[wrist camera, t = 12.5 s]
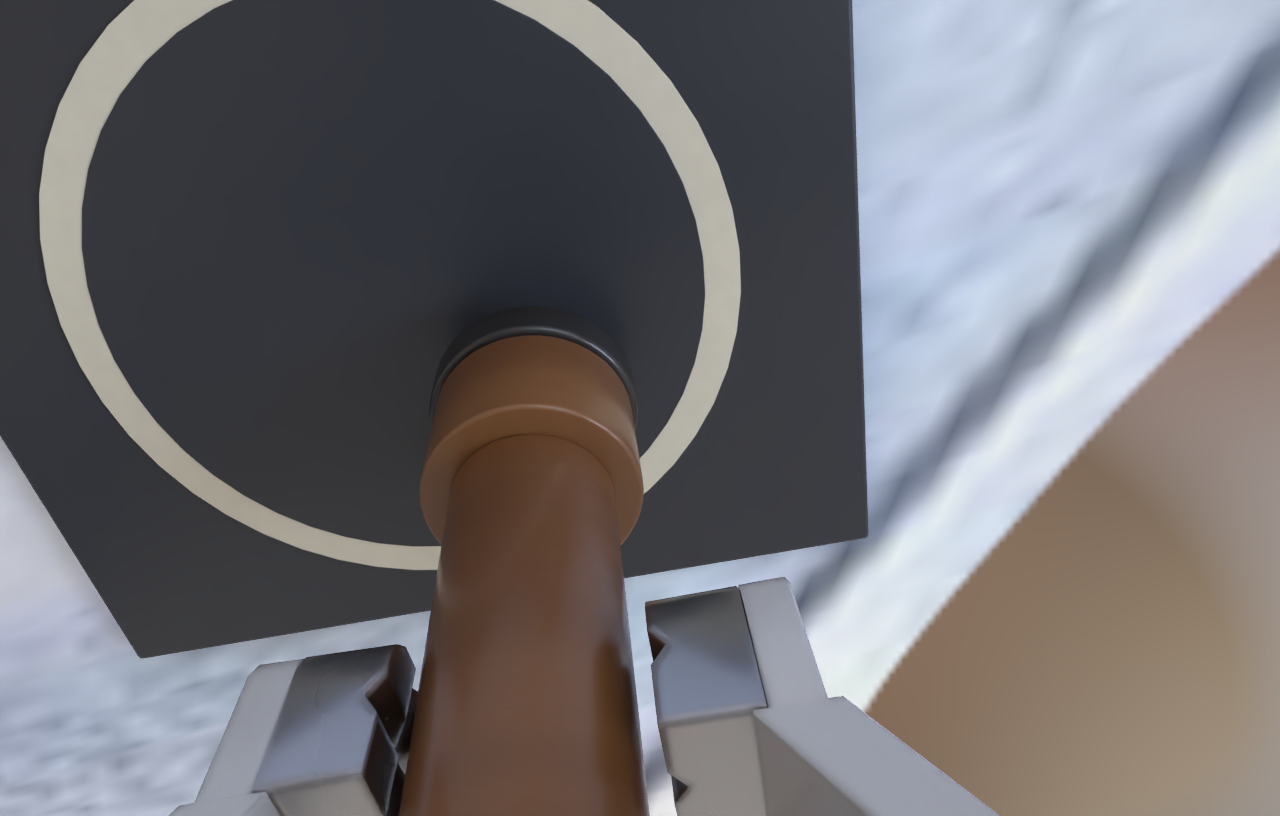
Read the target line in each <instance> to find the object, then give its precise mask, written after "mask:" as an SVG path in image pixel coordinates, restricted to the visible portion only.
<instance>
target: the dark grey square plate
mask: <svg viewBox="0 0 1280 816" xmlns="http://www.w3.org/2000/svg"><path fill="white" fill-rule="evenodd" d="M524 306H543V307H551V308H557V309H561V310H565V311H568V312H571V313H573V314H576V315H579V316H581V317H583V318H585V319H587V320H589V321H590V322H592V323H594V324H595V325H597V326H598V327H599V328H601V329H602V330H603V331H605V332H606V333H607V334H608V335H609V336H610V337H611V338H612V339H613V340H614V341H615V343H616V344H617V345H618V346H619V347H620V349H621V351H622V352H623V354H624V356H625V357H626V359H627V362H628V364H629V366H630V369H631V372H632V376H633V380H634V386H635V392H636V398H637V407H638V418H637V426H636V431H635V433H636V439H637V446H638V452H639V458H640V465H641V471H642V478H643V487H644V494H643V504H642V508H641V512H640V515H639V517H638V520H637V523H636V524H635V526H634V528H633V530H632V531H631V533H630V535H629V536H628V537H627V539H626V540H625V541H624V543H623V544H622V545H621V546H620V547H621V557H622V566H623V575H624V578H628V577H634V576H640V575H646V574H652V573H658V572H664V571H670V570H676V569H682V568H688V567H694V566H700V565H706V564H712V563H718V562H724V561H730V560H736V559H742V558H748V557H754V556H760V555H766V554H772V553H778V552H784V551H790V550H796V549H802V548H808V547H814V546H820V545H826V544H832V543H838V542H844V541H850V540H856V539H862V538H866V537H868V508H867V476H866V443H865V410H864V378H863V345H862V312H861V280H860V247H859V214H858V182H857V149H856V116H855V84H854V51H853V18H852V0H0V436H1V437H2V439H3V441H4V442H5V444H6V445H7V447H8V449H9V450H10V452H11V453H12V455H13V457H14V458H15V460H16V461H17V463H18V465H19V466H20V468H21V469H22V471H23V473H24V474H25V476H26V477H27V479H28V481H29V482H30V484H31V485H32V487H33V489H34V490H35V492H36V493H37V495H38V497H39V498H40V500H41V501H42V503H43V505H44V506H45V508H46V509H47V511H48V513H49V514H50V516H51V517H52V519H53V521H54V522H55V524H56V525H57V527H58V529H59V530H60V532H61V533H62V535H63V537H64V538H65V540H66V541H67V543H68V545H69V546H70V548H71V549H72V551H73V553H74V554H75V556H76V557H77V559H78V561H79V562H80V564H81V565H82V567H83V569H84V570H85V572H86V573H87V575H88V577H89V578H90V580H91V581H92V583H93V585H94V586H95V588H96V589H97V591H98V593H99V594H100V596H101V597H102V599H103V601H104V602H105V604H106V605H107V607H108V609H109V610H110V612H111V613H112V615H113V617H114V618H115V620H116V621H117V623H118V625H119V626H120V628H121V629H122V631H123V632H124V634H125V636H126V637H127V639H128V640H129V642H130V644H131V645H132V647H133V648H134V650H135V652H136V653H137V655H138V656H139V657H140V658H148V657H154V656H160V655H166V654H172V653H178V652H184V651H190V650H196V649H202V648H208V647H214V646H220V645H226V644H232V643H238V642H244V641H250V640H256V639H262V638H268V637H274V636H280V635H286V634H292V633H298V632H304V631H310V630H316V629H322V628H328V627H334V626H340V625H346V624H352V623H358V622H364V621H370V620H376V619H382V618H388V617H394V616H400V615H406V614H412V613H418V612H424V611H430V610H431V608H432V601H433V595H434V589H435V582H436V576H437V570H438V563H439V557H440V551H441V544H440V543H439V542H438V541H437V540H436V538H435V537H434V535H433V534H432V532H431V531H430V529H429V527H428V525H427V523H426V521H425V519H424V516H423V512H422V509H421V505H420V496H419V489H420V479H421V474H422V470H423V465H424V460H425V455H426V450H427V446H428V441H429V436H430V431H431V425H430V416H429V408H430V398H431V394H432V389H433V385H434V380H435V376H436V371H437V368H438V365H439V363H440V360H441V358H442V356H443V355H444V353H445V351H446V349H447V348H448V347H449V345H450V344H451V343H452V342H453V340H454V339H455V338H456V337H457V336H458V335H459V334H460V333H461V332H462V331H463V330H465V329H466V328H467V327H469V326H470V325H472V324H473V323H474V322H476V321H478V320H480V319H482V318H484V317H486V316H488V315H491V314H493V313H496V312H498V311H502V310H506V309H510V308H515V307H524Z"/></svg>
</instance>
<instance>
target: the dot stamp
mask: <svg viewBox="0 0 1280 816" xmlns="http://www.w3.org/2000/svg"><path fill="white" fill-rule="evenodd" d="M429 416H430V425H431V431H430V436H429V441H428V446H427V450H426V455H425V460H424V465H423V470H422V474H421V479H420V489H419V496H420V505H421V509H422V512H423V516H424V519H425V521H426V523H427V525H428V527H429V529H430V531H431V532H432V534H433V535H434V537H435V538H436V540H437V541H438V542H439V543H440V544H441V551H440V557H439V563H438V570H437V576H436V582H435V589H434V595H433V601H432V608H431V614H430V620H429V627H428V633H427V639H426V646H425V652H424V658H423V665H422V671H421V678H420V684H419V690H418V697H417V703H416V709H415V716H414V722H413V728H412V735H411V741H410V747H409V754H408V760H407V766H406V773H405V779H404V785H403V792H402V798H401V804H400V811H399V816H650V815H649V805H648V796H647V787H646V778H645V769H644V759H643V750H642V741H641V732H640V722H639V713H638V704H637V695H636V686H635V676H634V667H633V658H632V649H631V640H630V630H629V621H628V612H627V603H626V593H625V584H624V575H623V566H622V557H621V547H620V546H621V545H622V544H623V543H624V541H625V540H626V539H627V537H628V536H629V535H630V533H631V531H632V530H633V528H634V526H635V524H636V523H637V520H638V517H639V515H640V512H641V508H642V504H643V494H644V487H643V478H642V471H641V465H640V458H639V452H638V446H637V439H636V433H635V431H636V426H637V418H638V407H637V398H636V392H635V386H634V380H633V376H632V372H631V369H630V366H629V364H628V362H627V359H626V357H625V356H624V354H623V352H622V351H621V349H620V347H619V346H618V345H617V344H616V343H615V341H614V340H613V339H612V338H611V337H610V336H609V335H608V334H607V333H606V332H605V331H603V330H602V329H601V328H599V327H598V326H597V325H595V324H594V323H592V322H590V321H589V320H587V319H585V318H583V317H581V316H579V315H576V314H573V313H571V312H568V311H565V310H561V309H557V308H551V307H543V306H524V307H515V308H510V309H506V310H502V311H498V312H496V313H493V314H491V315H488V316H486V317H484V318H482V319H480V320H478V321H476V322H474V323H473V324H472V325H470V326H469V327H467V328H466V329H465V330H463V331H462V332H461V333H460V334H459V335H458V336H457V337H456V338H455V339H454V340H453V342H452V343H451V344H450V345H449V347H448V348H447V349H446V351H445V353H444V355H443V356H442V358H441V360H440V363H439V365H438V368H437V371H436V376H435V380H434V385H433V389H432V394H431V398H430V408H429Z"/></svg>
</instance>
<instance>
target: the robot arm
mask: <svg viewBox="0 0 1280 816" xmlns="http://www.w3.org/2000/svg"><path fill="white" fill-rule="evenodd" d="M645 612H646V623H647V631H648V636H649V641H650V646H651V651H652V656H653V661H654V662H653V663H652V665H651V670H652V679H653V688H654V697H655V705H656V714H657V723H658V728H659V733H660V738H661V742H662V747H663V752H664V757H665V761H666V766H667V771H668V773H669V774H670V775H671V777H672V785H673V793H674V801H675V807H676V811H677V816H1000V815H998V814H997V813H996V812H994V811H993V810H992V809H991V808H989V807H988V806H987V805H985V804H984V803H983V802H981V801H980V800H979V799H977V798H976V797H975V796H974V795H972V794H971V793H969V792H968V791H967V790H965V789H964V788H963V787H962V786H960V785H959V784H958V783H956V782H955V781H954V780H952V779H951V778H950V777H949V776H947V775H946V774H945V773H943V772H942V771H941V770H939V769H938V768H936V767H935V766H934V765H933V764H931V763H930V762H929V761H927V760H926V759H925V758H924V757H922V756H921V755H919V754H918V753H917V752H916V751H914V750H913V749H912V748H910V747H909V746H908V745H906V744H905V743H904V742H902V741H901V740H900V739H899V738H897V737H896V736H895V735H893V734H892V733H890V732H889V731H888V730H887V729H885V728H884V727H883V726H881V725H880V724H879V723H877V722H876V721H875V720H873V719H872V718H871V717H870V716H868V715H867V714H866V713H864V712H863V711H862V710H860V709H859V708H858V707H856V706H855V705H854V704H852V703H851V702H850V701H849V700H847V699H846V698H845V697H843V696H841V697H833V698H827V694H826V691H825V688H824V685H823V682H822V679H821V676H820V673H819V670H818V667H817V664H816V661H815V658H814V655H813V652H812V649H811V646H810V643H809V640H808V637H807V634H806V631H805V627H804V624H803V621H802V618H801V615H800V612H799V609H798V606H797V603H796V600H795V597H794V594H793V591H792V588H791V585H790V582H789V581H788V580H787V579H786V578H785V577H780V578H775V579H769V580H764V581H758V582H753V583H748V584H742V585H739V586H738V588H737V586H734V587H728V588H723V589H717V590H711V591H706V592H700V593H694V594H689V595H683V596H677V597H672V598H666V599H660V600H655V601H649V602H646V603H645ZM415 670H416V668H415V666H414V664H413V662H412V660H411V658H410V655H409V653H408V651H407V649H406V647H404V646H401V645H398V644H396V645H389V646H382V647H375V648H368V649H361V650H354V651H347V652H340V653H333V654H326V655H319V656H312V657H306V659H300V660H293V661H286V662H278V663H271V664H263V665H260V666H258V667H257V668H256V669H255V670H254V671H253V672H252V673H251V674H250V675H249V676H248V678H247V680H246V683H245V685H244V687H243V690H242V692H241V694H240V697H239V699H238V701H237V704H236V706H235V708H234V711H233V713H232V715H231V718H230V720H229V723H228V725H227V727H226V730H225V732H224V734H223V737H222V739H221V741H220V744H219V746H218V748H217V751H216V753H215V755H214V758H213V760H212V763H211V765H210V767H209V770H208V772H207V774H206V777H205V779H204V781H203V784H202V786H201V788H200V791H199V793H198V796H197V798H196V800H195V803H192V804H187V805H181V806H179V807H178V808H177V809H176V810H174V811H173V812H172V813H171V814H170V815H169V816H399V811H400V804H401V798H402V792H403V785H404V779H405V773H406V766H407V760H408V754H409V747H410V741H411V735H412V728H413V722H414V716H415V709H416V703H417V697H418V692H417V691H416V690H414V689H412V685H413V680H414V675H415Z"/></svg>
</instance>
